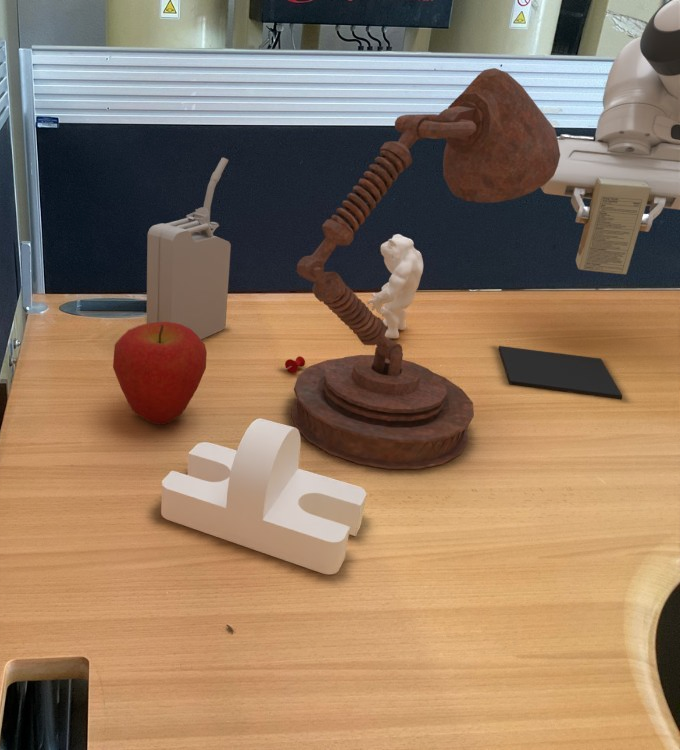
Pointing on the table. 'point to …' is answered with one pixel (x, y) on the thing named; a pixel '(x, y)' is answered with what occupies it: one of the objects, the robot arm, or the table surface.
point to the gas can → (189, 270)
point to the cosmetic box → (612, 225)
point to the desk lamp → (386, 368)
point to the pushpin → (294, 364)
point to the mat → (558, 372)
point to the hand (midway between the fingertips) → (612, 225)
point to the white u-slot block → (266, 499)
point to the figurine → (398, 283)
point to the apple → (159, 369)
